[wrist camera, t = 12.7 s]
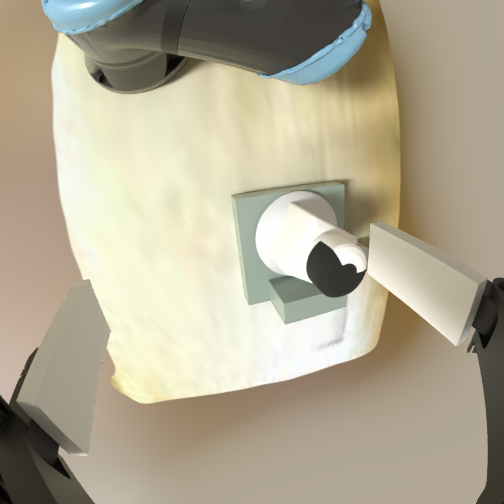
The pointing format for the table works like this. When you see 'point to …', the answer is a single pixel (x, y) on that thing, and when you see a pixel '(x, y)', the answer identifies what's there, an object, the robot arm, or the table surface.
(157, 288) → the table surface
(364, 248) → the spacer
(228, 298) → the table surface
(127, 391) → the table surface
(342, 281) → the container
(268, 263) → the scale
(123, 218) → the table surface
